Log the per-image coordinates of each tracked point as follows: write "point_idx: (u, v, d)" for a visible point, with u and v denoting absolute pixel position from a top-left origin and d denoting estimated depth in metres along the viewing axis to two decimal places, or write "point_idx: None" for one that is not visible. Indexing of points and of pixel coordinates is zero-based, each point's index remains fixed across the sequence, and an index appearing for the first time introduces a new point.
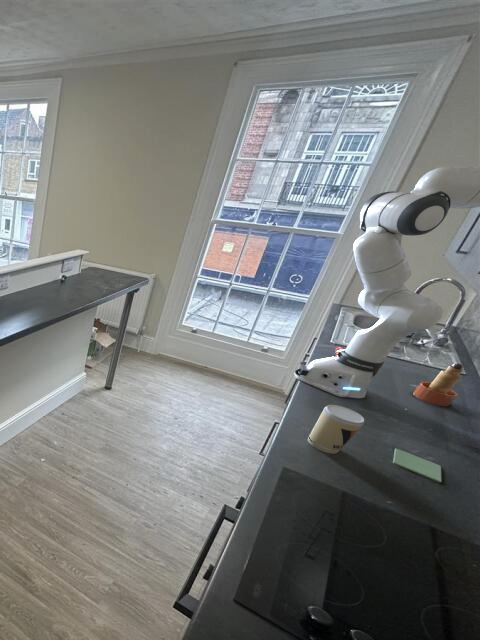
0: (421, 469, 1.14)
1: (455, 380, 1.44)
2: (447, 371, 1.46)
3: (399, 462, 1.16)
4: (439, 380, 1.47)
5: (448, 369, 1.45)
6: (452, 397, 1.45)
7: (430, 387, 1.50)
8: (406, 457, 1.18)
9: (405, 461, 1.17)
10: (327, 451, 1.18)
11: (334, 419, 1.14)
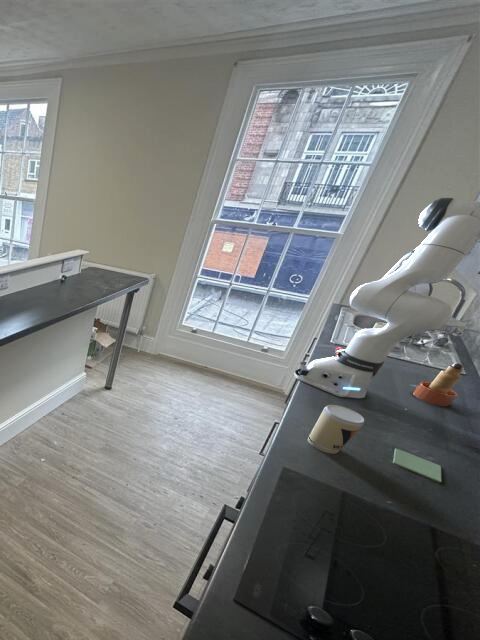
0: (421, 469, 1.14)
1: (455, 380, 1.44)
2: (447, 371, 1.46)
3: (399, 462, 1.16)
4: (439, 380, 1.47)
5: (448, 369, 1.45)
6: (452, 397, 1.45)
7: (430, 387, 1.50)
8: (406, 457, 1.18)
9: (405, 461, 1.17)
10: (327, 451, 1.18)
11: (334, 419, 1.14)
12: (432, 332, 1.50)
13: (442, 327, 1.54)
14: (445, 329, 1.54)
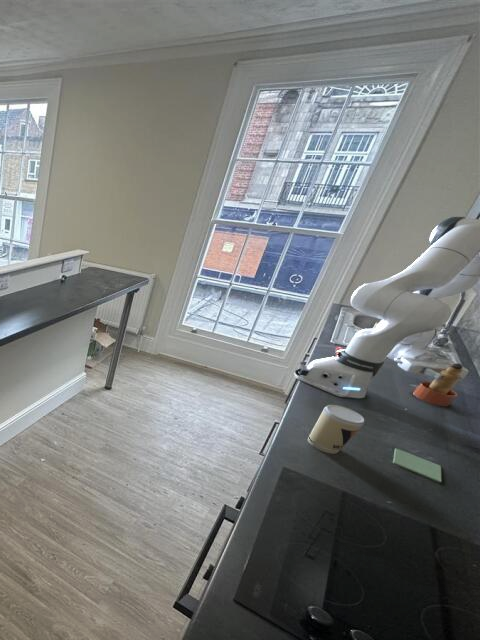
0: (421, 469, 1.14)
1: (455, 380, 1.44)
2: (447, 371, 1.46)
3: (399, 462, 1.16)
4: (439, 380, 1.47)
5: (448, 369, 1.45)
6: (452, 397, 1.45)
7: (430, 387, 1.50)
8: (406, 457, 1.18)
9: (405, 461, 1.17)
10: (327, 451, 1.18)
11: (334, 419, 1.14)
12: (441, 378, 1.46)
13: None
14: None
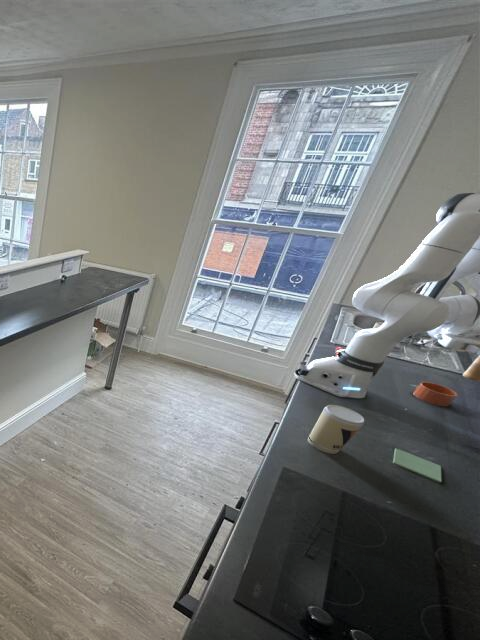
0: (421, 469, 1.14)
1: None
2: None
3: (399, 462, 1.16)
4: None
5: None
6: (452, 397, 1.45)
7: (472, 365, 1.38)
8: (406, 457, 1.18)
9: (405, 461, 1.17)
10: (327, 451, 1.18)
11: (334, 419, 1.14)
12: None
13: None
14: None
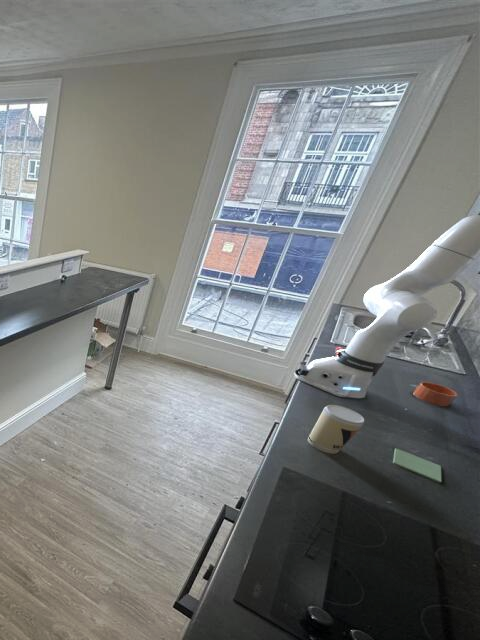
0: (421, 469, 1.14)
1: None
2: None
3: (399, 462, 1.16)
4: None
5: None
6: (452, 397, 1.45)
7: None
8: (406, 457, 1.18)
9: (405, 461, 1.17)
10: (327, 451, 1.18)
11: (334, 419, 1.14)
12: None
13: None
14: None
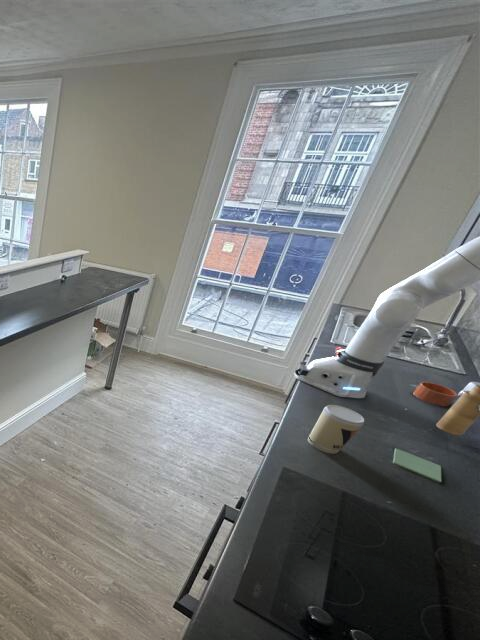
0: (421, 469, 1.14)
1: (463, 398, 1.05)
2: None
3: (399, 462, 1.16)
4: None
5: None
6: (452, 397, 1.45)
7: None
8: (406, 457, 1.18)
9: (405, 461, 1.17)
10: (327, 451, 1.18)
11: (334, 419, 1.14)
12: None
13: None
14: None
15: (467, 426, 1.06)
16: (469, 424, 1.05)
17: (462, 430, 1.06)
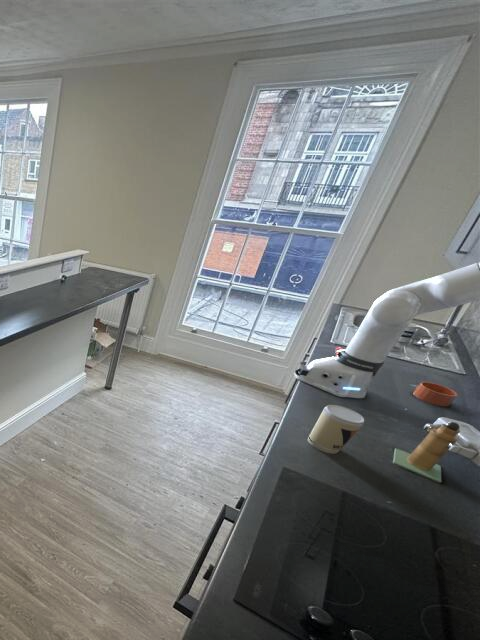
0: (421, 469, 1.14)
1: (430, 436, 1.11)
2: None
3: (399, 462, 1.16)
4: None
5: None
6: (452, 397, 1.45)
7: None
8: (406, 457, 1.18)
9: (405, 461, 1.17)
10: (327, 451, 1.18)
11: (334, 419, 1.14)
12: (427, 429, 1.15)
13: (468, 447, 1.08)
14: None
15: (434, 462, 1.12)
16: (436, 460, 1.12)
17: (430, 466, 1.13)
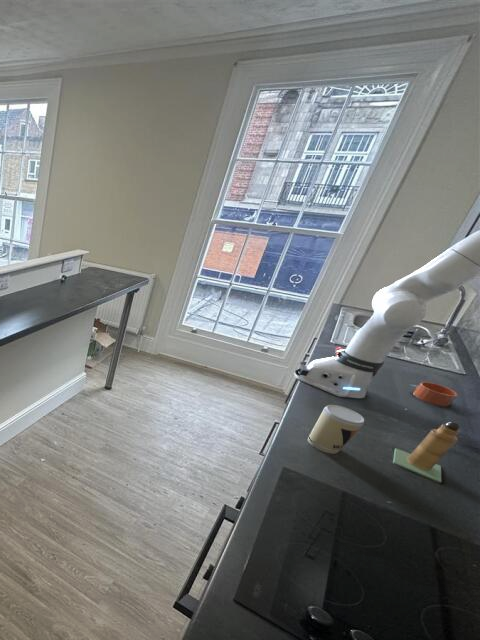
0: (421, 469, 1.14)
1: (430, 436, 1.11)
2: None
3: (399, 462, 1.16)
4: None
5: None
6: (452, 397, 1.45)
7: None
8: (406, 457, 1.18)
9: (405, 461, 1.17)
10: (327, 451, 1.18)
11: (334, 419, 1.14)
12: None
13: None
14: None
15: (434, 462, 1.12)
16: (436, 460, 1.12)
17: (430, 466, 1.13)
